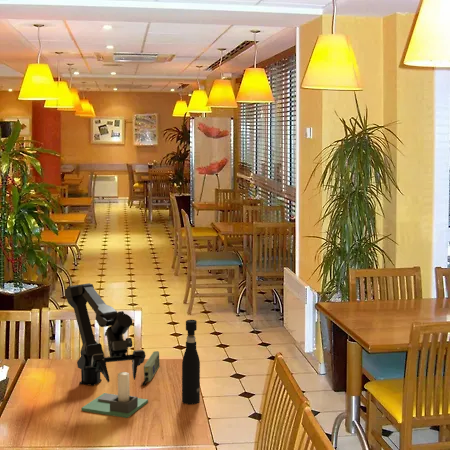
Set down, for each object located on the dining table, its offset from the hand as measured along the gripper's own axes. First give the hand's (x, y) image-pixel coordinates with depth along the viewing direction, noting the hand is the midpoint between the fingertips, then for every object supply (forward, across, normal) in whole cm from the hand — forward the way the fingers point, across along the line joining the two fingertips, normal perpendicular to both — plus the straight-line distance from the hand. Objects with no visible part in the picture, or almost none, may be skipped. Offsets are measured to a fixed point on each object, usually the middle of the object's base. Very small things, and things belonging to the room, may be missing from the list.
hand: (121, 380), depth 268 cm
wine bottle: (+8, +25, +7) cm, 27 cm away
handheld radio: (-14, +18, +30) cm, 38 cm away
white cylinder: (+8, 0, +5) cm, 10 cm away
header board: (+5, -2, +9) cm, 11 cm away
